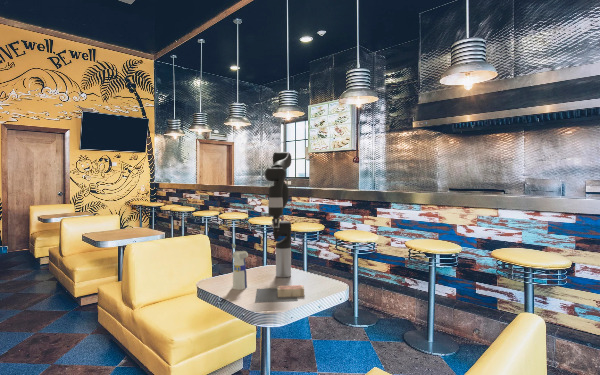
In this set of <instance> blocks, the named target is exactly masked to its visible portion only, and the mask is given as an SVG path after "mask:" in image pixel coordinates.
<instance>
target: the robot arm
mask: <svg viewBox="0 0 600 375" xmlns="http://www.w3.org/2000/svg"><path fill="white" fill-rule="evenodd" d="M291 154H292V153H290V152H289V151H288V152H287V151H275V152H273V154H272V165H271V166H269V167H267V168H266V170H265V172H264V177H265V179H266V180H267V181H268V182H273V185H272V186H269V188H268V201H267V202H268V204H267V205H268V207H267V209H268V210H267V211H268V216H270V217H272V218H271V223H272V224H271V225H272V230H273V240H278V239H279V237H283V239H282V240H279V241H278V242H277V241H276V243H275V277H277V278H289V277H292V223H291V222H290V220H280V217H281V216H283V215H284V208H285V207H286V206H287V204H288V202H289V199H290V197H289V196H290V195H289V194H290V192H289V191H290V190H289V189H290V188H289V187H288V185H287V183H286V181H285V178H286V176H287V173H286V170H287V169H288V168H289V167H290V166H291V164H292V155H291Z"/></svg>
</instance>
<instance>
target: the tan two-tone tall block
mask: <svg viewBox="0 0 600 375" xmlns="http://www.w3.org/2000/svg"><path fill="white" fill-rule="evenodd" d="M304 286H305V285H301V284H298V285H295V284H294V285H277V288H278V297H294V296H297V297H305V287H304Z"/></svg>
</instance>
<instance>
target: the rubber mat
mask: <svg viewBox="0 0 600 375" xmlns="http://www.w3.org/2000/svg"><path fill="white" fill-rule="evenodd" d="M298 301H299V300H298V296H294V297H278V287H274V288H273V287H272V288H271V287H270V288H256V292H255V300H254V303H255V304H256V303H258V304H260V303H283V302H284V303H287V302H298Z"/></svg>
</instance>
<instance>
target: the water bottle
mask: <svg viewBox="0 0 600 375" xmlns="http://www.w3.org/2000/svg"><path fill="white" fill-rule="evenodd" d="M231 246H232V249H234V250H235V249H236V246H237V245H236V244H235V242H233V243H232V244H231ZM248 256H249V254H248V251H246V250H237V251H233V252H232V260H233V263H232V265H233V271H232V289H233V290H239V291H240V290H245V289H247V288H248V279H247V276H248V275H247V270H246V268H247V267H246V264H247V262H246V258H247V257H248Z"/></svg>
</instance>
